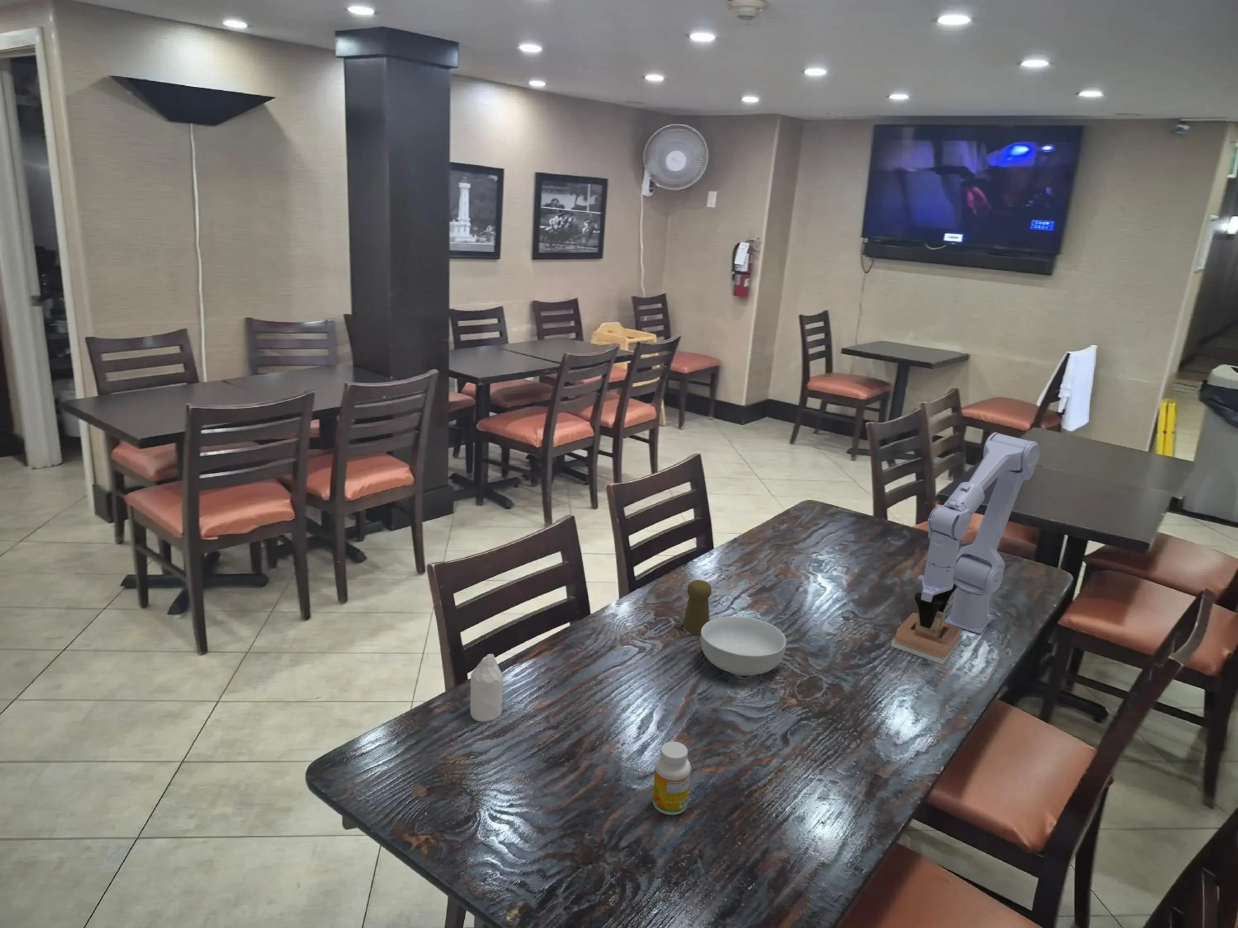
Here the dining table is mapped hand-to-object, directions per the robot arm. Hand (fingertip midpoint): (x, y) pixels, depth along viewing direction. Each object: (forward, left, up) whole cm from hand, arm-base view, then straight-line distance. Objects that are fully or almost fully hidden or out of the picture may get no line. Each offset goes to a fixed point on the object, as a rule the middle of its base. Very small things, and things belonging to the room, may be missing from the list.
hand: (931, 620), depth 175 cm
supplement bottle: (+79, -14, -6) cm, 81 cm away
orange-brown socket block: (0, 0, -5) cm, 5 cm away
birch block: (0, 0, -4) cm, 4 cm away
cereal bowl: (+36, -26, -6) cm, 45 cm away
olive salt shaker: (+29, -41, -6) cm, 51 cm away
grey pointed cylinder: (+81, -52, -6) cm, 96 cm away
